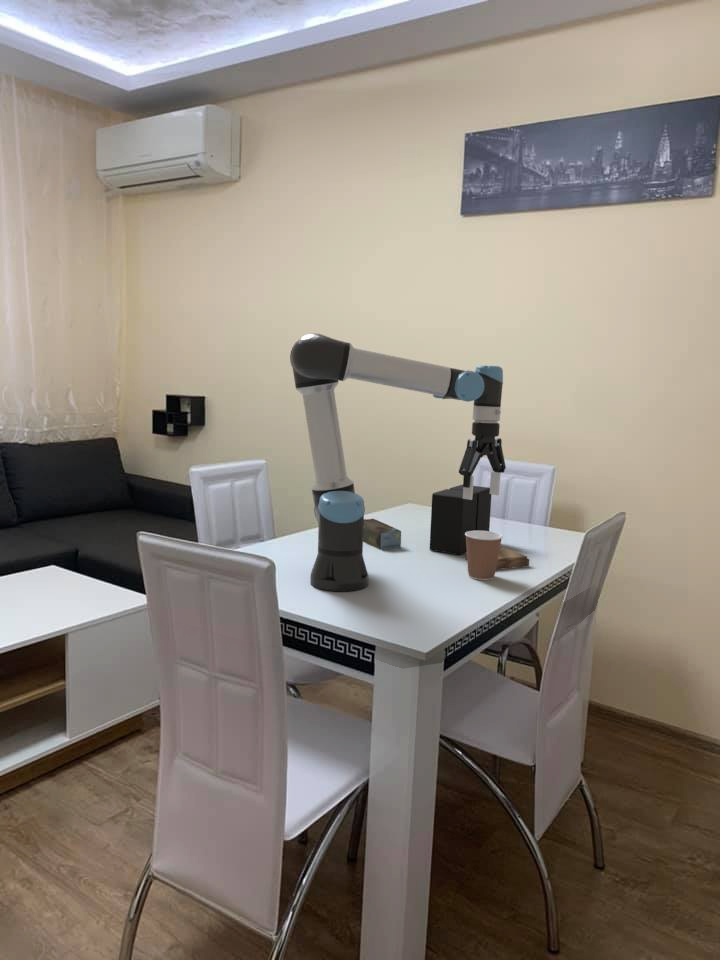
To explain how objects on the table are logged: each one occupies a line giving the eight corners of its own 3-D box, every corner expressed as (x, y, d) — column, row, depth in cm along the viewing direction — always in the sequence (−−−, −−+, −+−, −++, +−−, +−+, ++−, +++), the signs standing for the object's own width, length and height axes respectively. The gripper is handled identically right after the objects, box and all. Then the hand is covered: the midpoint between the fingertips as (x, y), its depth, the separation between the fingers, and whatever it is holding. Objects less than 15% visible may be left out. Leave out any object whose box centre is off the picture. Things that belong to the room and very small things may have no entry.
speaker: (459, 537, 242) (462, 484, 239) (488, 541, 236) (491, 487, 234) (428, 551, 220) (431, 493, 218) (460, 556, 215) (463, 497, 212)
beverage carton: (379, 550, 219) (380, 530, 218) (352, 537, 236) (352, 518, 235) (401, 548, 222) (402, 528, 221) (373, 536, 239) (373, 517, 238)
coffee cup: (507, 577, 193) (510, 535, 191) (486, 584, 185) (489, 540, 184) (476, 569, 200) (478, 528, 198) (455, 576, 192) (457, 533, 191)
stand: (489, 570, 200) (489, 560, 199) (466, 559, 210) (466, 550, 210) (528, 566, 205) (529, 556, 205) (504, 556, 216) (505, 547, 216)
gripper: (472, 423, 182) (467, 503, 185) (521, 421, 200) (515, 494, 204) (448, 421, 187) (444, 499, 190) (498, 420, 206) (493, 490, 209)
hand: (481, 496), depth 197 cm, fingers open, 13 cm apart
